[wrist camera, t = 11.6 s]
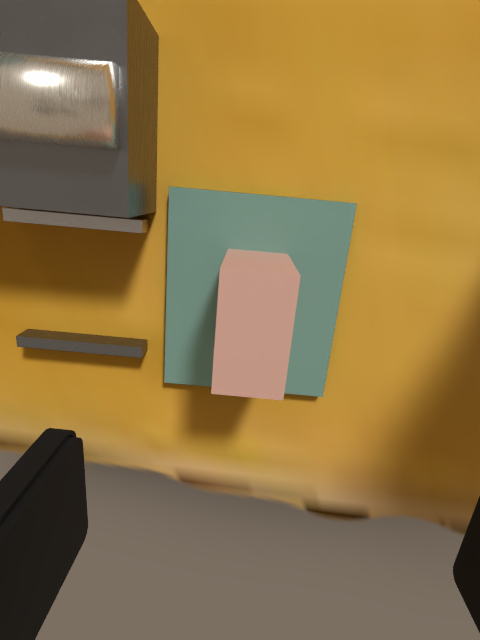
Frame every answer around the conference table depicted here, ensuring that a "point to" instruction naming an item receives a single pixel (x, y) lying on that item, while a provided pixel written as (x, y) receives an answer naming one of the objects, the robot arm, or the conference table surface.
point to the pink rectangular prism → (254, 324)
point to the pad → (255, 235)
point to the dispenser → (78, 128)
